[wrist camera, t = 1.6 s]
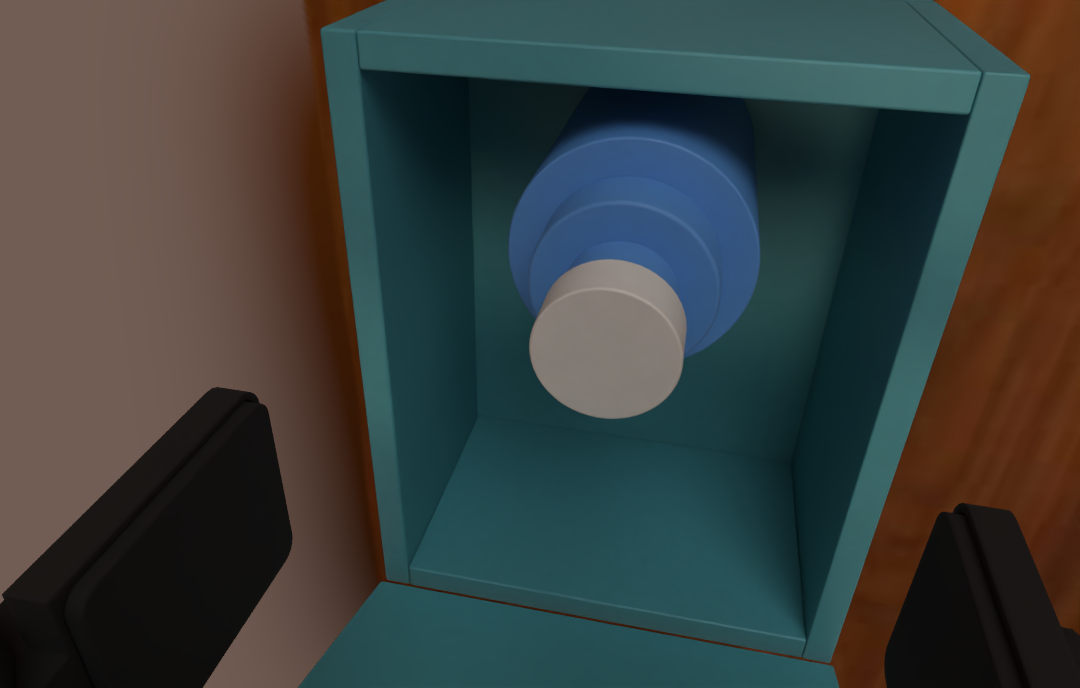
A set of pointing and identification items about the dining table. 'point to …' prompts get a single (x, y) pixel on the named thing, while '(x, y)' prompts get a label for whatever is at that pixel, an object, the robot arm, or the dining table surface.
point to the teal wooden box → (707, 376)
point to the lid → (530, 651)
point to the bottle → (636, 244)
